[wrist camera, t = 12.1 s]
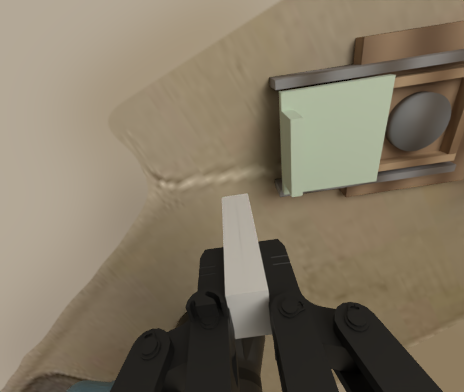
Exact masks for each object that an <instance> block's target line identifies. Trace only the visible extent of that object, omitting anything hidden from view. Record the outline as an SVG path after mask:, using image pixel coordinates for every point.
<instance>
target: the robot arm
mask: <svg viewBox="0 0 464 392" xmlns="http://www.w3.org/2000/svg"><path fill="white" fill-rule="evenodd" d="M222 215H223V245H224V247H222V248H214V249H207V250H205V251H204V253H203V254H202V256H201V258H200V269H199V280H198V292H196V293H195V294H193V295H192V296H191V297H190V299H189V300H188V302H187V305H186V310H187V313H186V314H185V315H184V316H183V317H182V318H181V319H180V321H179V323H178V326H177V328H175V329H173V330H171V331H169V332H165V331H164V330H162V329H159V328H158V329H151V330H149V331H146V332H144V333H143V334H142V335H141V336H140V337H138V338H137V340H136V341H135V343H134V344H133V346H132V348H131V350H130V352H129V354H128V356H127V358H126V360H125V362H124V364H123V366H122V368H121V370H120V372H119V374H118V376H117V378H116V380H115V381H112V382H101V381H90V380H84V381H80V382H77V383H76V384H74V385H72V386H71V387H70V388H69V389H68V390H67V391H66V392H262V385H261V377H260V373H261V365H262V358H263V351H264V343H265V335H270V334H272V335H273V340H274V349H275V360H277V365H278V371H279V376H280V381H281V387H282V392H339V391H338V388H337V385H336V382H335V379H334V376H333V374H332V371H331V369H333V370H334V372H335V373H336V375H337V377H338V378H339V380H340V382H341V383H342V385H343V387H344V388H345V390H346V392H443V391H442V390H441V389H440V388H439V387H438V386H437V384H436V383H435V382H434V381H433V380H432V379H431V378H430V377H429V376H428V374H427V373H426V372H425V371H424V370H423V369H422V367H421V366H420V365H419V364H418V363H417V362H416V361H415V360H414V358H413V357H412V356H411V355H410V354H409V353H408V352H407V351H406V349H405V348H404V347H403V346H402V345H401V344H400V343H399V341H398V340H397V339H396V338H395V337H394V336H393V335H392V334H391V332H390V331H389V330H388V329H387V328H386V327H385V326H384V325H383V323H382V322H381V321H380V320H379V319H378V318H377V317H376V315H375V314H374V313H373V312H371V311H370V310H369V309H368V308H367V307H365V306H363V305H361V304H359V303H353V302H347V303H342V304H341V305H339V306H338V307H337V309H332V308H326V307H321V306H317V305H315V304H313V303H311V302H309V301H308V300H307V299H305V298H304V296H303V295H302V294H301V292H300V290H299V287H298V284H297V281H296V278H295V275H294V272H293V269H292V266H291V263H290V260H289V257H288V255H287V252H286V249H285V246H284V245H283V244H282V243H281V242H280V241H279V240H278V239H274V240H267V241H260V242H258V239H257V234H256V230H255V225H254V220H253V215H252V211H251V206H250V201H249V197H248V193H247V194H240V195H233V196H226V197H222Z"/></svg>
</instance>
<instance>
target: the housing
mask: <svg viewBox="0 0 464 392" xmlns="http://www.w3.org/2000/svg"><path fill="white" fill-rule="evenodd" d="M388 74H393V75H396V77H395V82H394V88H393V93H392V99H391V104H390V109H389V115H388V120H387V126H386V131H385V137H384V142H383V147H382V153H381V158H380V164H379V169H378V175H377V180H376V181H374V182H367V183H361V184H354V185H347V186H340V187H334V188H327V189H320V190H313V191H307V192H303V194H304V193H311V192H318V191H325V190H331V189H338V188H341V189H340V191H341V192H342V193H343V194H344V195H345V197H349V196H356V195H363V194H370V193H376V192H383V191H390V190H397V189H404V188H410V187H417V186H424V185H431V184H437V183H444V182H451V181H458V180H464V21H459V22H453V23H446V24H440V25H434V26H428V27H421V28H415V29H409V30H403V31H396V32H390V33H384V34H378V35H372V36H365V37H359V38H356V42H355V52H354V62H353V64H351V65H345V66H339V67H332V68H326V69H320V70H313V71H307V72H301V73H294V74H288V75H282V76H275V77H269V82H270V87H271V88H273V89H274V90H281V89H287V88H293V87H300V86H306V85H312V84H319V83H325V82H331V81H338V80H344V79H351V78H352V80H356V79H362V78H369V77H375V76H381V75H388ZM275 186H276V189H277V191H278V193H279V195H280V197H284V196H291V195H290V194H287V195H284V193H283V191H282V179H276V180H275Z"/></svg>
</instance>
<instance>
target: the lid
mask: <svg viewBox="0 0 464 392" xmlns="http://www.w3.org/2000/svg"><path fill="white" fill-rule="evenodd" d="M395 77H396V75H393V74H388V75H381V76H375V77H369V78H362V79H356V80H350V81H343V82H337V83H330V84H324V85H318V86H311V87H305V88H299V89H292V90H286V91H279V112H280V139H281V165H282V191H283V193H284V195H287V194H290V195H291V197H297V196H303V192H307V191H313V190H320V189H327V188H334V187H340V186H347V185H354V184H361V183H367V182H374V181H376V180H377V175H378V169H379V164H380V158H381V153H382V147H383V142H384V137H385V131H386V126H387V120H388V115H389V109H390V104H391V99H392V93H393V88H394V82H395Z"/></svg>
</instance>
